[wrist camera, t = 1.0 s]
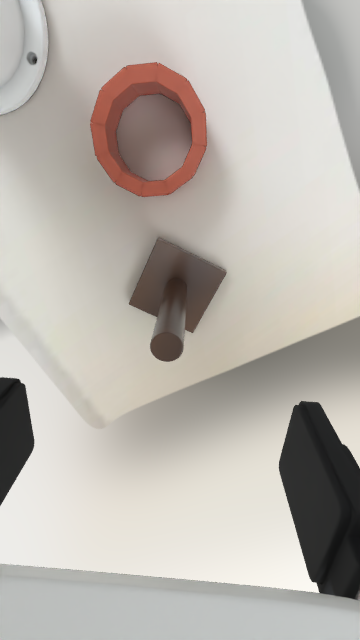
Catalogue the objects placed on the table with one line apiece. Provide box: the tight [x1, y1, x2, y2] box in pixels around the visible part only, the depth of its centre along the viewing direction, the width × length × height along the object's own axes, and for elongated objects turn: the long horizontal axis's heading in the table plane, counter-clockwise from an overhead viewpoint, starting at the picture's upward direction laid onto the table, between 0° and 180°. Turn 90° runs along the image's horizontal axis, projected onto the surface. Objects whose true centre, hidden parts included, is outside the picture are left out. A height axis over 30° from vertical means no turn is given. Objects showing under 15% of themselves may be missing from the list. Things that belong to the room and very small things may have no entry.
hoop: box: [90, 62, 207, 197], centre depth 28 cm, size 9×9×4 cm
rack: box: [129, 238, 226, 362], centre depth 29 cm, size 8×8×14 cm
